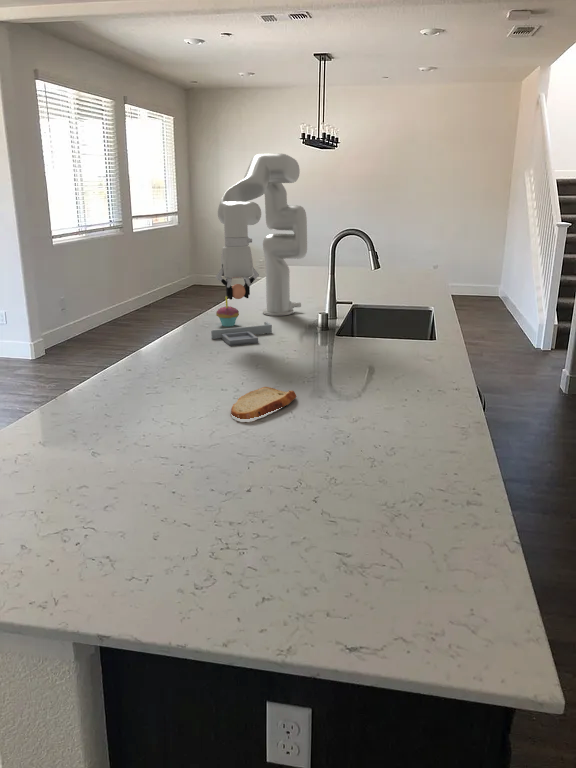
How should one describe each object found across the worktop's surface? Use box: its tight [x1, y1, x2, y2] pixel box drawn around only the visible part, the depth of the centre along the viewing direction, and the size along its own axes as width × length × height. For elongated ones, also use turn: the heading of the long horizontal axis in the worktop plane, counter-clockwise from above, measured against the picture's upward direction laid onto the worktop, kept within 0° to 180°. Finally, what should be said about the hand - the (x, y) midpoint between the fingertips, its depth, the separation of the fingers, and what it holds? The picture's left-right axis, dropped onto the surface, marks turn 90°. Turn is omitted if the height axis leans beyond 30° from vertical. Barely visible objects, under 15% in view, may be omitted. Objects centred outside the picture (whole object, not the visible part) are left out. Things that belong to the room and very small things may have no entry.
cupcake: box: [215, 295, 240, 328], centre depth 240 cm, size 9×8×12 cm
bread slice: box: [230, 386, 297, 419], centre depth 156 cm, size 18×18×4 cm
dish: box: [221, 331, 259, 347], centre depth 218 cm, size 10×10×2 cm
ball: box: [231, 283, 246, 300], centre depth 213 cm, size 5×5×5 cm
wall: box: [210, 321, 273, 340], centre depth 228 cm, size 22×6×3 cm, turn 111°
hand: (238, 297), depth 214 cm, fingers closed on ball, 4 cm apart
